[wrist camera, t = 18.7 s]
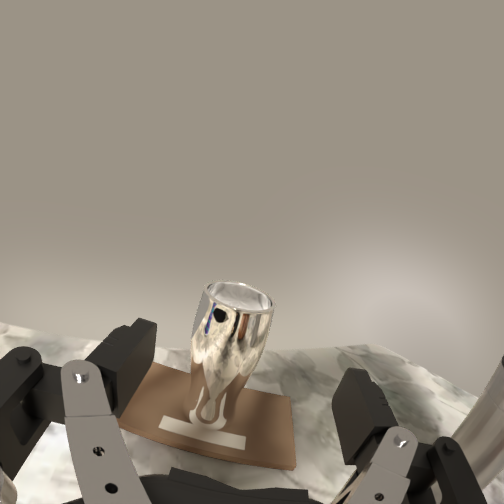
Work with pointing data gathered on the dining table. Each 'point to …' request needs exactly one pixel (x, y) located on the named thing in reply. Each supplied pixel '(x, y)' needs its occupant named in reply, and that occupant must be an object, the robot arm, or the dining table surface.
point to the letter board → (212, 441)
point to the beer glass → (225, 350)
